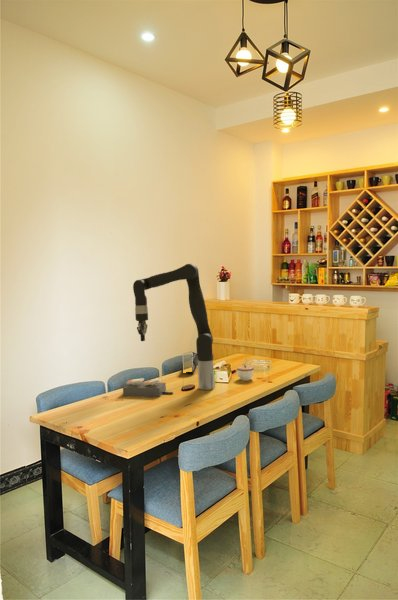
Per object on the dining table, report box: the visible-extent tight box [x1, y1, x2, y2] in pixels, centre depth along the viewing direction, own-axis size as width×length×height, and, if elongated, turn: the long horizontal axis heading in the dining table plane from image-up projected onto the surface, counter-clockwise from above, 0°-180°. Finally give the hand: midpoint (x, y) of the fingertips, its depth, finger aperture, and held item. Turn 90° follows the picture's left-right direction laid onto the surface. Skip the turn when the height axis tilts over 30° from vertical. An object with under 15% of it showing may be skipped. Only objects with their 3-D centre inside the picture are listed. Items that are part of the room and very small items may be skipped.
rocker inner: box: [144, 377, 162, 385], centre depth 263 cm, size 9×6×2 cm, turn 77°
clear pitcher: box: [181, 351, 198, 373], centre depth 318 cm, size 10×28×10 cm, turn 174°
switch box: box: [122, 381, 174, 398], centre depth 264 cm, size 28×12×5 cm, turn 78°
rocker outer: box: [125, 377, 145, 385], centre depth 265 cm, size 9×6×2 cm, turn 77°
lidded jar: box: [236, 364, 255, 382], centre depth 287 cm, size 11×11×9 cm
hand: (142, 340), depth 275 cm, fingers closed
